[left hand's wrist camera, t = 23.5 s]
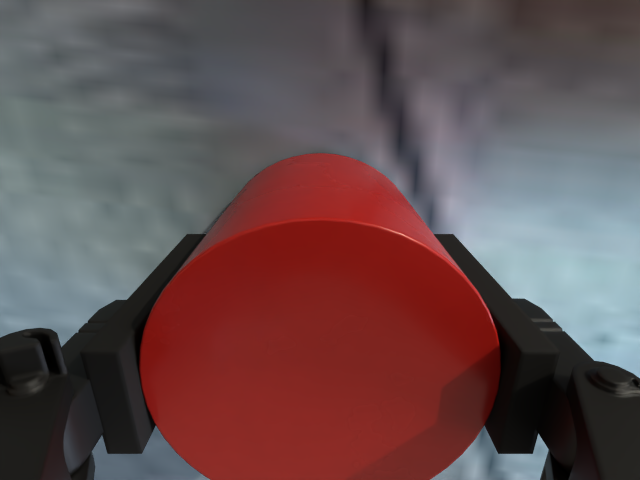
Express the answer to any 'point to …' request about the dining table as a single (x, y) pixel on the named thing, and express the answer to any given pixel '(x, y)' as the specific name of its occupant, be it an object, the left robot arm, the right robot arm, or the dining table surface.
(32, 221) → the dining table surface
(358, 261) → the can
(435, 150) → the dining table surface
